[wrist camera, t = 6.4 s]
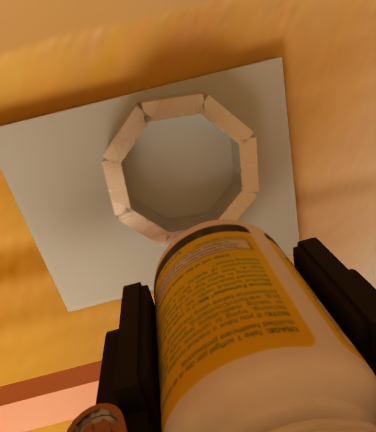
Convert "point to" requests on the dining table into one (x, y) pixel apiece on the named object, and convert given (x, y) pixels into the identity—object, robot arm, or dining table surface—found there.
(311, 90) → the dining table surface
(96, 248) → the board
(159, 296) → the supplement bottle
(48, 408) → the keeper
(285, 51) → the dining table surface
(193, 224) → the socket
